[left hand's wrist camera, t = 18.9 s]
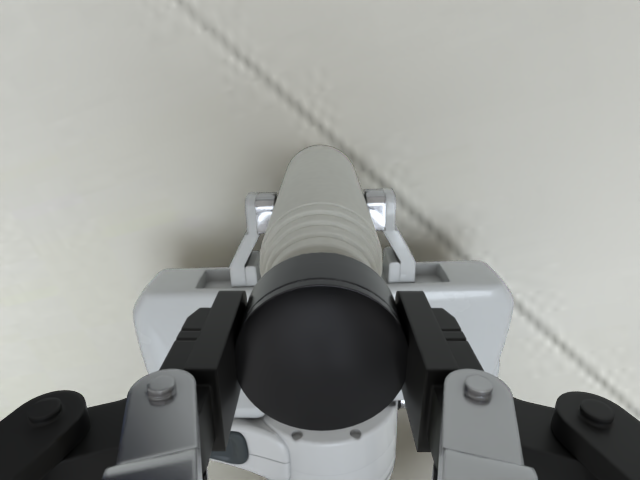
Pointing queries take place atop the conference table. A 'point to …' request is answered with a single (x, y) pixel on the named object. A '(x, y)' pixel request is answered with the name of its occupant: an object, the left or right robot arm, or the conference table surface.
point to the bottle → (320, 212)
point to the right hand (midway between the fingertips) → (319, 192)
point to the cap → (321, 343)
